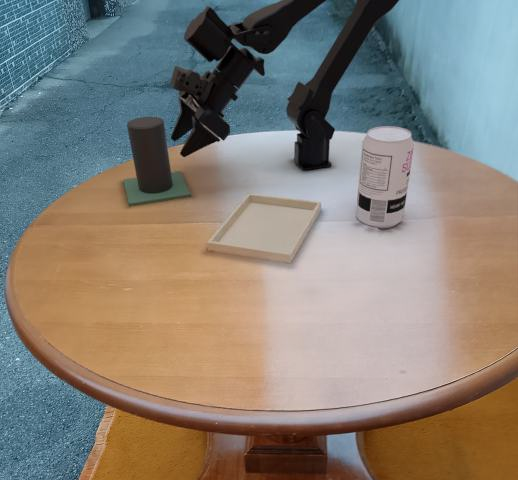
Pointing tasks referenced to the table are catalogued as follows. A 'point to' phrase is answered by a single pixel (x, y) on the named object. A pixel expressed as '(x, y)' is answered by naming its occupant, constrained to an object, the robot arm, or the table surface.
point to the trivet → (140, 197)
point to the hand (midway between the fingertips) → (177, 147)
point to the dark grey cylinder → (150, 154)
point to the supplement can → (384, 176)
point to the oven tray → (266, 228)
